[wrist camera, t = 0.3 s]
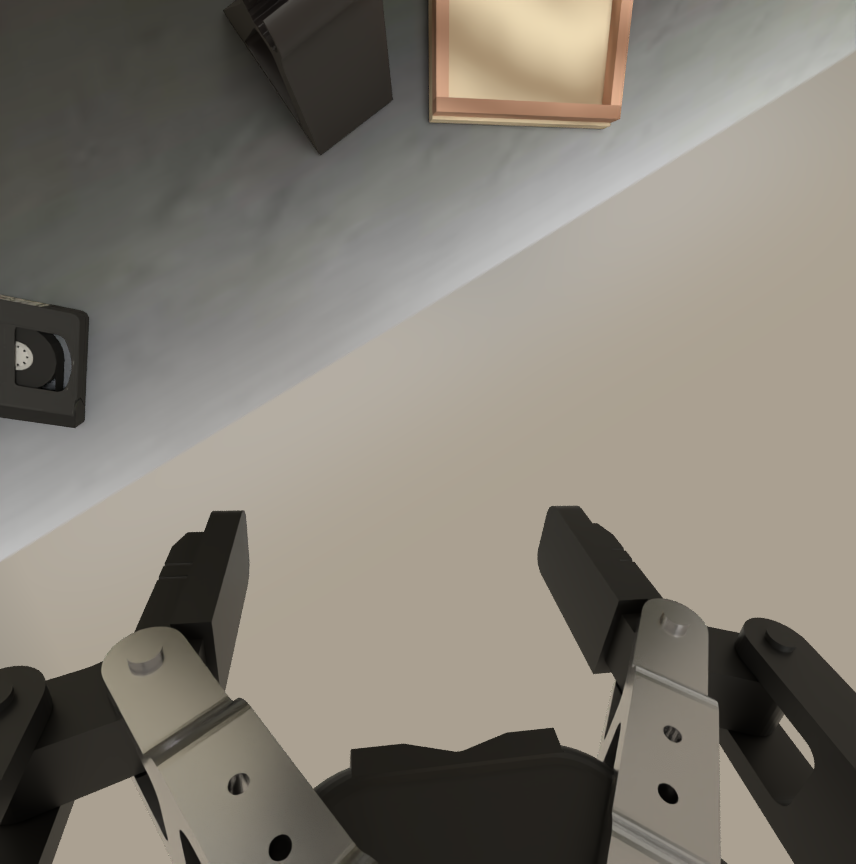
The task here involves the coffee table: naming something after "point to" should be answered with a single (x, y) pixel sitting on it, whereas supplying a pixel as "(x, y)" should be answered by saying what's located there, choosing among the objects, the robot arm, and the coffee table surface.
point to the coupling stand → (528, 61)
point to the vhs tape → (41, 362)
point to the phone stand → (320, 59)
